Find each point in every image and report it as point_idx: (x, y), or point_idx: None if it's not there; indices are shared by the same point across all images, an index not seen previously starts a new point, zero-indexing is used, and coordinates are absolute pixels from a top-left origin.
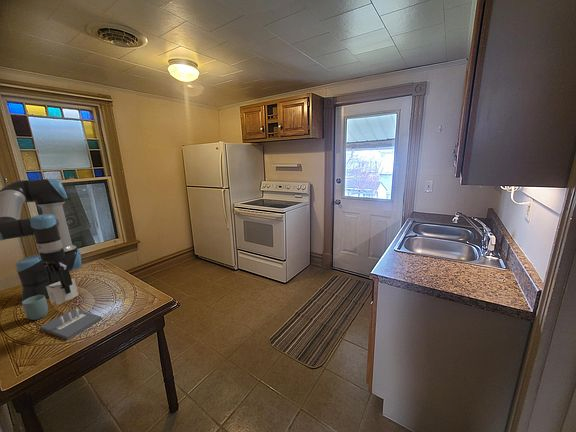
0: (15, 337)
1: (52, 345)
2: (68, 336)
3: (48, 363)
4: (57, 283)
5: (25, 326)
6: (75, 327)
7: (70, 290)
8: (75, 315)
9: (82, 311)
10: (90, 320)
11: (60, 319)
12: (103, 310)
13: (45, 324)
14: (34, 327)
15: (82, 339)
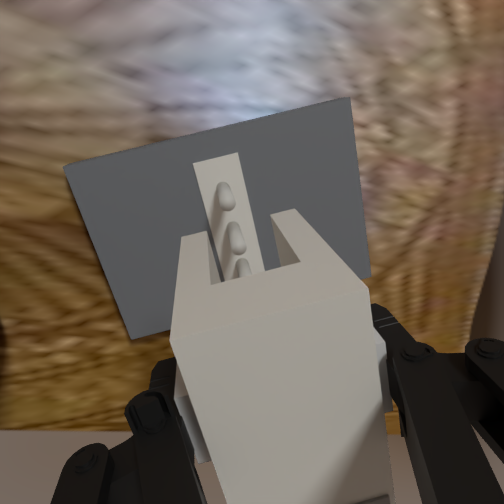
0: (113, 403)
1: None
2: (370, 270)
3: (448, 344)
4: (277, 462)
5: (27, 369)
6: (322, 230)
7: (391, 315)
8: (177, 193)
9: (159, 148)
10: (328, 156)
11: None
12: (235, 42)
13: (134, 318)
14: (82, 344)
15: (425, 228)
